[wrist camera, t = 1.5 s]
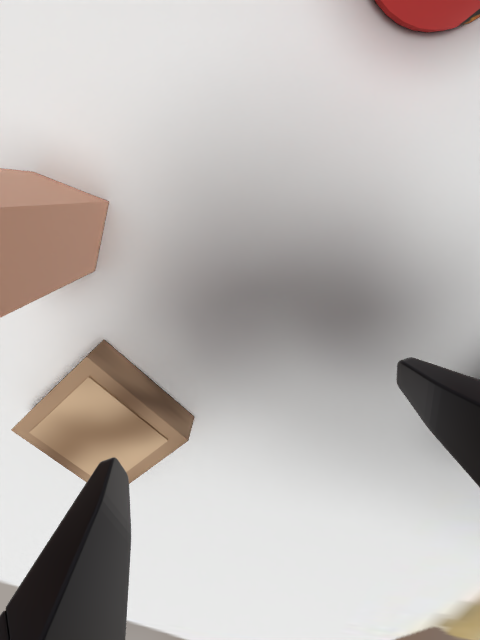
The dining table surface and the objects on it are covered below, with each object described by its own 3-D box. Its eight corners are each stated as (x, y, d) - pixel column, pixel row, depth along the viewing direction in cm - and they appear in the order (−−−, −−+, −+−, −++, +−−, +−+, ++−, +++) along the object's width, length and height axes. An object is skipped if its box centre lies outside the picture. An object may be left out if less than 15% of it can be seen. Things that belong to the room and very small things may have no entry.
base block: (194, 416, 24) (187, 442, 22) (121, 471, 27) (108, 499, 24) (103, 339, 22) (85, 357, 19) (33, 407, 24) (9, 431, 22)
